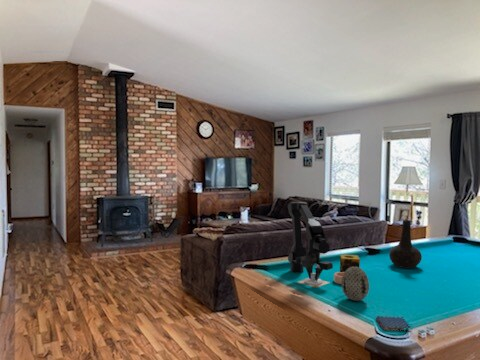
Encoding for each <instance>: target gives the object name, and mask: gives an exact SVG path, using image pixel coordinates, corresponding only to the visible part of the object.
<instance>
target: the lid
mask: <svg viewBox="0 0 480 360" xmlns="http://www.w3.org/2000/svg"><path fill="white" fill-rule="evenodd" d="M315 276H316V272H312V273H311V279H309V277H306V278H304V279H303V280H304V282H305V283H307V284H311V285H320V284H322V283H323V281H324V280H323V279H321V278H318V280H317V281H316V279H315ZM322 280H323V281H322Z"/></svg>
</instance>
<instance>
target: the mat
mask: <svg viewBox="0 0 480 360" xmlns="http://www.w3.org/2000/svg"><path fill="white" fill-rule="evenodd" d="M321 280H322V281H323V283H322V284H320V285H311V284H307V283H305V282H304V279H301V280H299V281H297V283H298V284H303V285H305V286H310V287H313V288H316V289H317V288H320V287H322V286H325V285H327V284H330V283H331V282H330V281H326V280H323V279H321Z"/></svg>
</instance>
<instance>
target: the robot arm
mask: <svg viewBox="0 0 480 360" xmlns="http://www.w3.org/2000/svg"><path fill="white" fill-rule="evenodd" d="M287 209H288V214H289V215H290V218H291V222H292V223H291V224H292V227H291V228H292V239H293V240H292V241H293V242H292V243H293V244H292V246H291V247H290V253H289V254H288V256H287V261H288V262H290V270H289V271H288V273H289V272H292V273H295V274H296V273H298V274H302V273H304V269H306V272H307V276H308V278H309V279H311V273H313V269H314V271H315V273H316V276H315V279H316V281H317V280H318V279H320V276H321V274H322V272H323V271H329V270H332V269H333V266H334V264H333V263H332V262H330V261H326V260H325V261H323V262H322V259H321V256H320V255H321V254H322V255H323V254H324V255H325V254H327V253H328V252H329V250H330V245H329V243H328V242H326V241H327V240H326V239H327V238H326V233H325V231H324V227H323V226H322V225H321V223H320V222H319V221H318V220H316V219H315V218H314V216H313V214H312V212H311V211H310V208H309V206H308V202H305V201H290V202H289V203H288V204H287ZM301 217H302V219H303V221H304V222H305V233H306V234H307V237H306V238H307V240H308V244H307V245H308V247H306V246H304V245H303V236H302V220H301ZM307 248H308V250H307ZM314 266H316V267H314Z"/></svg>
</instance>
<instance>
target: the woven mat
mask: <svg viewBox="0 0 480 360" xmlns="http://www.w3.org/2000/svg"><path fill="white" fill-rule="evenodd" d="M375 319H376V320H375V321H376V322H377V323H378V324H379V327H380V326H381V327H380V328H381V329H382V328H383V329H384V330H385V331H390V330H391V331H393V330H394V331H396V330H397V331H399V330H398V329H400V331H401V329H402V330H404V328H407V327H408V328H412V327H411V325H410V324H409V323H408V322H407V321H406V320H405V318H404V317H403V316H402V317H401V316H400V317H399V316H397V317H396V316H384V315H380V316H379V315H377V316H376V317H375ZM383 329H382V330H383ZM404 331H405V330H404Z"/></svg>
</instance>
